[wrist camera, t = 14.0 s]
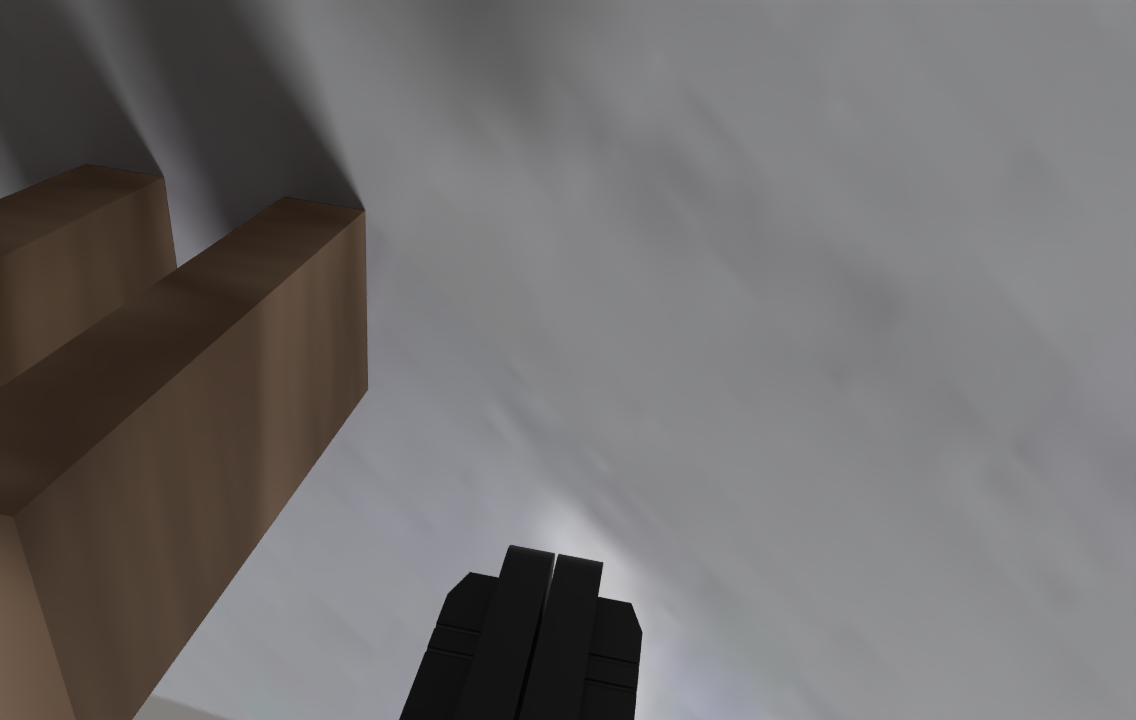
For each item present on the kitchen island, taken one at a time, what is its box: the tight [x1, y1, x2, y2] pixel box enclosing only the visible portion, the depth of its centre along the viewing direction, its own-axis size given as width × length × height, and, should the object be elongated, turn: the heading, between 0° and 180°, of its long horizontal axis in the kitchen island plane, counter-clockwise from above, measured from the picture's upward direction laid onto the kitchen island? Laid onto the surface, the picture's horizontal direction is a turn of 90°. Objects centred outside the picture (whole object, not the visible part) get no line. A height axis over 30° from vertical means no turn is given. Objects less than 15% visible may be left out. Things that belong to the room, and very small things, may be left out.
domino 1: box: [0, 197, 368, 720], centre depth 15 cm, size 2×5×11 cm, turn 173°
